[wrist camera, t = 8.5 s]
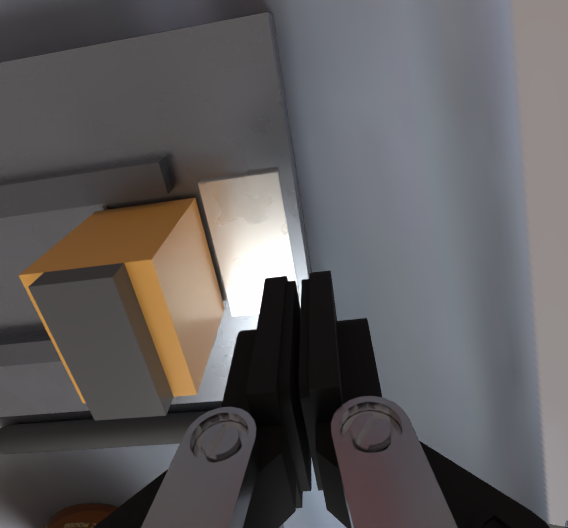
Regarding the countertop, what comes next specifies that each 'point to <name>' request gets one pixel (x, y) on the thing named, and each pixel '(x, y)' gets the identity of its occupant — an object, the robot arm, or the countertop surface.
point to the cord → (95, 433)
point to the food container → (81, 516)
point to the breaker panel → (146, 177)
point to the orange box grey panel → (131, 306)
